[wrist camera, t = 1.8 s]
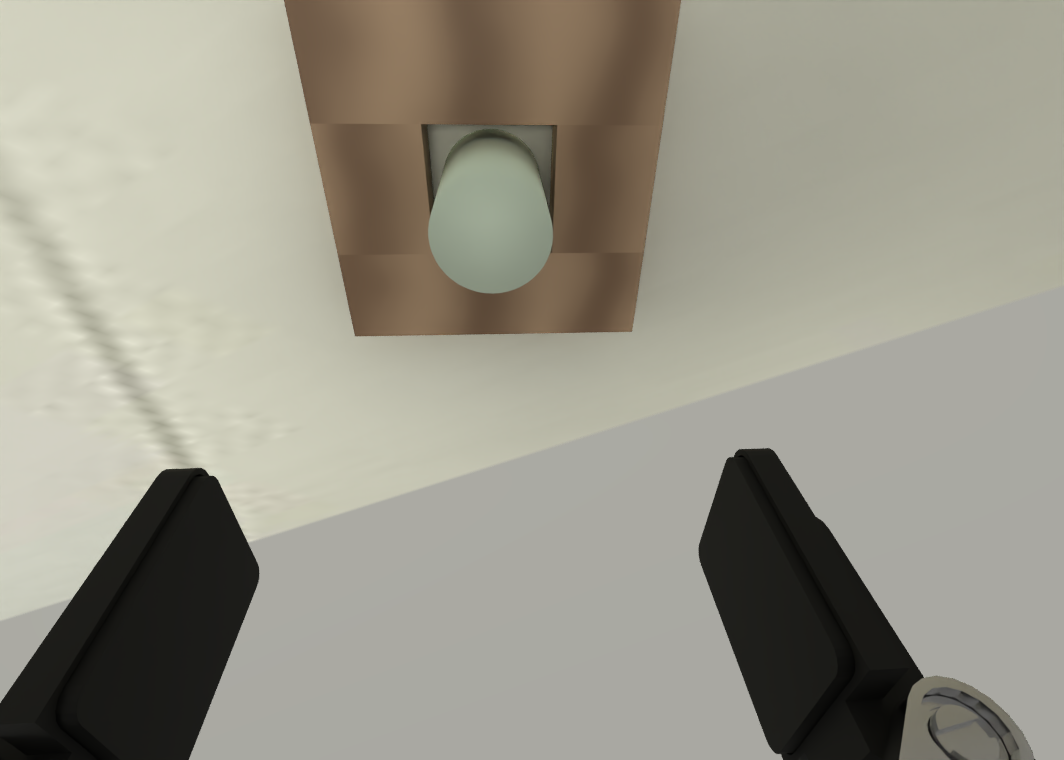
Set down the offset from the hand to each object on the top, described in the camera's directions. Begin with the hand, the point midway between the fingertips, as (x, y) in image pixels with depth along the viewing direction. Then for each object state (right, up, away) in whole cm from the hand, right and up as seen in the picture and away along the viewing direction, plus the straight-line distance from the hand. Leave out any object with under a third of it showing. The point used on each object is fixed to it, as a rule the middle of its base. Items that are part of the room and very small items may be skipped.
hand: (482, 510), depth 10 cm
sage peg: (-1, +13, +18) cm, 22 cm away
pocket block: (-1, +13, +18) cm, 22 cm away
